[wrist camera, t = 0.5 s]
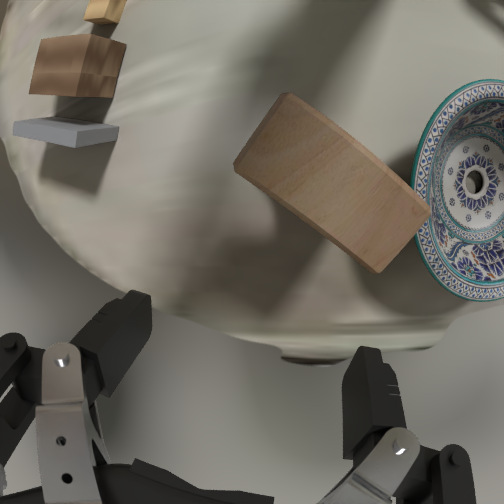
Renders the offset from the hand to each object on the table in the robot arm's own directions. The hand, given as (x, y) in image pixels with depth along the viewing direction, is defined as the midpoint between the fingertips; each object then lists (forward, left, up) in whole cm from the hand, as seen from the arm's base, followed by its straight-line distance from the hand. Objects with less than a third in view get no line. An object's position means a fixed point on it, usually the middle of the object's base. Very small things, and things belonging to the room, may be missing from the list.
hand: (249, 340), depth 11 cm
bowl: (-10, +22, -28) cm, 37 cm away
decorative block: (-5, +2, -28) cm, 29 cm away
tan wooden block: (-22, -32, -28) cm, 48 cm away
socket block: (-10, -32, -28) cm, 43 cm away
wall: (-1, -32, -28) cm, 42 cm away
